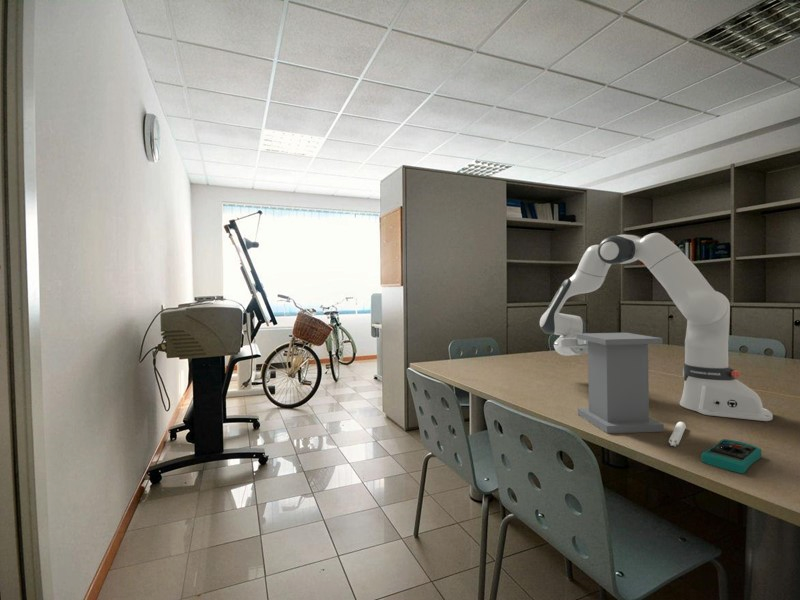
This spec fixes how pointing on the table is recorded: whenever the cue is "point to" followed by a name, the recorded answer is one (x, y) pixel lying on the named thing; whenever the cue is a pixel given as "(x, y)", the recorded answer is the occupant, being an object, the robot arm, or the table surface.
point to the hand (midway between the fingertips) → (593, 341)
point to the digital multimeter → (732, 455)
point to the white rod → (677, 434)
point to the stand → (619, 382)
